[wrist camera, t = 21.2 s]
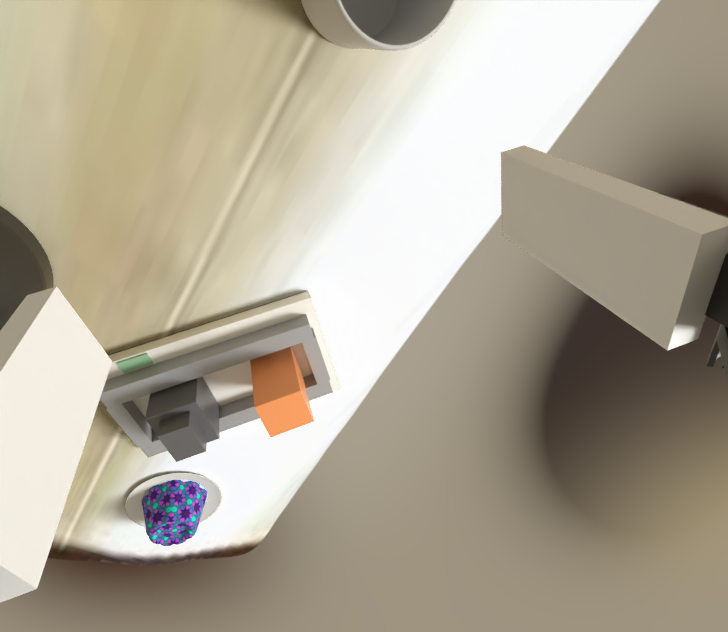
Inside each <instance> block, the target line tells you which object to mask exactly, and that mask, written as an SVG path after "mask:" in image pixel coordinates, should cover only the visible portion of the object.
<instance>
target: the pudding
mask: <svg viewBox="0 0 728 632" xmlns="http://www.w3.org/2000/svg"><path fill="white" fill-rule="evenodd" d="M175 479H186V480H191V481H188V482H182V481H181V480H175ZM168 480H171V481H168ZM164 481H168V482H166V483H165V484H164V485H156V484H159V483H161V482H164ZM193 481H195V482H193ZM196 482H197V483H196ZM198 483H199V484H201V485H202V486H204V488H205V489H206V490H207V491H206V490H205V489H202V488H200V487H199V484H198ZM154 485H156V486H154ZM153 486H154V487H153ZM151 487H152V488H151ZM150 488H151V489H150ZM149 489H150V490H149ZM147 490H149V495H147V496H145V497H144V498H143V500H142V497H143V495H144V494H145V492H146V491H147ZM207 493H208V499H207V501H206V503H205V500H206V497H207ZM221 499H222V494H221V490H220V488H219V487H218V485H217V484H216V483H215V482H213V481H212V480H210V479H208V478H206V477H204V476H201V475H197V474H191V473H171V474H165V475H161V476H158V477H154V478H152V479H149V480H147V481H145V482H143V483H142V484H140V485H139V486H137V487H136V488H135V489H134V490H133V491H132V492H131V493H130V494H129V496H128V498H127V500H126V503H125V510H126V512H127V515H128V516H129V517H130V519H132V520H133V521H134V522H135V523H137V524H139V525H141V526H144V527H146V532H147V535H148V536H149V539H150V540H151V541H152V542H153V543H156V544H161V545H164V546H170V545H172V544H181V543H183V542H185V541H186V539H189V538H191V537H192V536H193V535H194V534H195V532H196V530H197V527H198V524H199V523H200V522H202V521H203V520H205V519H207V518H208V517H210V516H211V515H212V514H213V513H214V512H215V511H216V510H217V509H218V507H219V505H220V503H221ZM141 500H142V505H143V508H142V505H141Z"/></svg>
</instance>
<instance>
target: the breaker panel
mask: <svg viewBox="0 0 728 632" xmlns="http://www.w3.org/2000/svg"><path fill="white" fill-rule="evenodd" d="M288 347H291V348H292V350H293V352H294V355H295V357H296V359H297V362H298V364H299V367H300V369H301V371H302V375H303V379H304V383H305V387H306V391H307V395H308V400H312V399H315V398H317V397H320V396H323V395H326V394H329V393H331V392H333V391H335V390H337V389H340V385H339V382H338V379H337V376H336V373H335V370H334V367H333V364H332V361H331V358H330V355H329V352H328V349H327V346H326V343H325V340H324V337H323V334H322V331H321V328H320V325H319V322H318V319H317V316H316V313H315V310H314V307H313V304H312V301H311V297H310V295H309V292H308V291H306V292H303V293H300V294H297V295H294V296H291V297H288V298H285V299H282V300H278V301H275V302H272V303H269V304H266V305H263V306H260V307H257V308H254V309H251V310H248V311H244V312H241V313H238V314H235V315H232V316H229V317H226V318H223V319H220V320H217V321H214V322H210V323H207V324H204V325H201V326H198V327H195V328H192V329H189V330H186V331H183V332H180V333H176V334H173V335H170V336H167V337H164V338H161V339H158V340H155V341H152V342H149V343H146V344H142V345H139V346H136V347H133V348H130V349H127V350H124V351H121V352H118V353H115V354H112V355H108V356H109V358H110V359H111V360H112V364H111V367H110V370H109V373H108V376H107V379H106V382H105V385H104V388H103V391H102V394H101V397H100V400H101V401H102V402H103V404H104V405H105V406H106V410H107V411H108V413H109V414H110V415H111V416H112V417H113V419H114V420H115V421H116V422H117V423H118V425H119V426H120V427H121V428H122V429H123V431H124V432H125V433H126V434H127V435H128V437H129V438H130V439H131V440H132V441H133V443H134V444H135V445H136V446H137V447H140V448H141V449H142V451H143V452H144V453H145V454H146V455H147V457H151V456H154V455H156V454H159V453H162V452H165V451H168V450H167V449H166V447H165V446H164V445H163V443H162V442H161V441H160V440H159V438H158V437H157V436H158V435H157V434H156V433H155V431H154V430H153V429H152V427H151V426H150V425H149V423H148V422H147V421H146V420H145V417H146V412H147V407H148V402H149V397H150V394H151V393H154V392H157V391H160V390H163V389H166V388H169V387H172V386H175V385H178V384H181V383H184V382H187V381H190V380H193V379H196V378H199V377H203V379H204V380H205V382H206V384H207V385H208V387H209V389H210V391H211V392H212V394H213V396H214V397H215V399H216V401H217V402H218V404H219V432H221V431H224V430H227V429H230V428H233V427H235V426H238V425H241V424H244V423H247V422H250V421H252V420H255V419H258V418H260V417H259V415H258V413H257V411H256V409H255V407H254V397H253V386H252V376H251V365H250V360H252V359H255V358H258V357H261V356H264V355H267V354H270V353H273V352H276V351H279V350H282V349H285V348H288Z"/></svg>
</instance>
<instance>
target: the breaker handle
mask: <svg viewBox="0 0 728 632" xmlns="http://www.w3.org/2000/svg"><path fill="white" fill-rule="evenodd" d="M145 420H146V421H147V422H148V423H149V425H150V426H151V427H152V429H153V430H154V431H155V433H156V434H157V435H158V436H157V437H158V438H159V440H160V441H161V442H162V443H163V445H164V446H165V447H166V449H167V450H168V451H169V453H170V454H171V455H172V456H173V458H174V459H175V460H176V462H177V461H180V460H183V459H185V458H188V457H191V456H194V455H197V454H199V453H202V452H205V451H206V443H207V442H210V441H213V440H215V439H218V438H219V404H218V402H217V401H216V399H215V397H214V396H213V394H212V392H211V391H210V389H209V387H208V385H207V384H206V382H205V380H204V379H203V377H199V378H196V379H193V380H190V381H187V382H184V383H181V384H178V385H175V386H172V387H169V388H166V389H163V390H160V391H157V392H154V393H151V394H150V397H149V402H148V407H147V412H146V417H145Z"/></svg>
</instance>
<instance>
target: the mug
mask: <svg viewBox="0 0 728 632" xmlns="http://www.w3.org/2000/svg"><path fill="white" fill-rule="evenodd" d="M456 1H457V0H301V2H302V5H303V8H304V10H305V13H306V15H307V17H308V19H309V20H310V22H311V23H312V25H313V26H314V27H315V29H316V30H317V31H318V32H319V33H320V34H321V35H322V36H323V37H324V38H326V39H327V40H329V41H330V42H332V43H334V44H336V45H338V46H341V47H345V48H351V49H375V50H392V51H397V50H404V49H408V48H411V47H414V46H416V45H419V44H421V43H423V42H424V41H426V40H427V39H429V38H430V37H431V36H432V35H433V34H434V33H436V32H437V31H438V29H439V28H440V27H441V26H442V25H443V24H444V22H445V21H446V19H447V18H448V16H449V15H450V13H451V11H452V9H453V8H454V6H455V3H456Z"/></svg>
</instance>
